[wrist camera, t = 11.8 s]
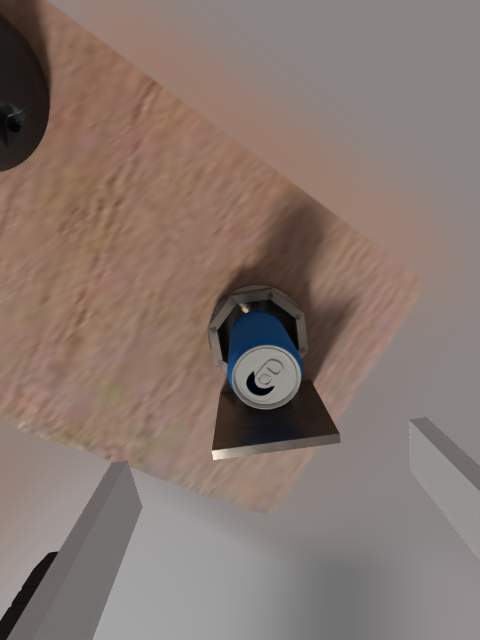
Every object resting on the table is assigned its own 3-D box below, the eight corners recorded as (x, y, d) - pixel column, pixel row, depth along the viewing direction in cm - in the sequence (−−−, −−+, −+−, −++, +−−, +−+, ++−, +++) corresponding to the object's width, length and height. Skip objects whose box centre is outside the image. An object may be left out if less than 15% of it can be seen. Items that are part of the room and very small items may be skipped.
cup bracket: (200, 292, 34) (182, 312, 23) (299, 277, 34) (327, 289, 23) (221, 399, 37) (213, 459, 27) (311, 387, 37) (340, 442, 26)
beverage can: (220, 338, 34) (210, 384, 23) (253, 297, 33) (260, 323, 22) (261, 369, 35) (271, 427, 24) (294, 330, 34) (323, 371, 23)
